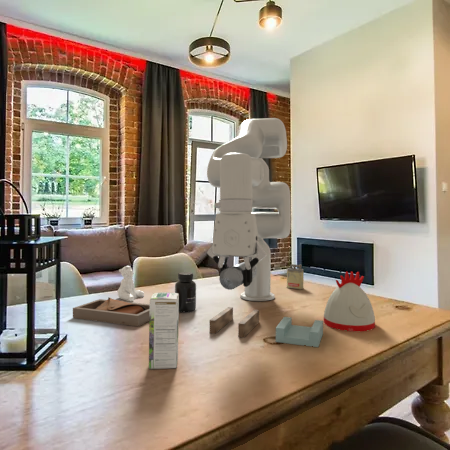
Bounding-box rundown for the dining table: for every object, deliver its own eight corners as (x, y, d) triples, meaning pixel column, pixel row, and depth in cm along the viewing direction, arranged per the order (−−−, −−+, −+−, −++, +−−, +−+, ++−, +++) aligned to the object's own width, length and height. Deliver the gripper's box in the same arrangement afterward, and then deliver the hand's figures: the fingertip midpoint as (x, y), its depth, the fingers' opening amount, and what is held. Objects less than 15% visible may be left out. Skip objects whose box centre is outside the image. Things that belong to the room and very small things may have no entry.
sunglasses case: (86, 312, 114) (96, 292, 116) (103, 319, 119) (112, 299, 121) (124, 323, 103) (134, 300, 106) (141, 330, 108) (150, 308, 111)
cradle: (284, 329, 100) (284, 316, 99) (322, 334, 96) (323, 320, 96) (275, 341, 90) (275, 327, 90) (318, 347, 87) (318, 332, 87)
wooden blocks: (228, 318, 110) (228, 307, 110) (259, 322, 106) (259, 310, 106) (209, 333, 97) (209, 320, 96) (244, 337, 93) (244, 324, 93)
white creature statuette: (131, 302, 130) (131, 268, 129) (110, 300, 132) (110, 267, 132) (145, 296, 138) (145, 264, 138) (125, 294, 141) (125, 263, 141)
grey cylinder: (239, 279, 96) (238, 261, 96) (257, 280, 94) (256, 261, 94) (219, 289, 84) (219, 268, 84) (239, 290, 82) (239, 268, 82)
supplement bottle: (192, 313, 115) (192, 275, 115) (171, 312, 117) (171, 274, 116) (198, 307, 122) (198, 271, 121) (178, 306, 123) (178, 271, 123)
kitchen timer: (385, 330, 99) (386, 275, 99) (337, 333, 97) (338, 276, 96) (358, 315, 113) (359, 267, 112) (316, 318, 111) (316, 268, 110)
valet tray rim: (99, 308, 122) (99, 299, 121) (160, 315, 113) (160, 305, 113) (72, 317, 110) (72, 308, 110) (137, 326, 102) (137, 315, 102)
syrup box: (151, 358, 80) (151, 292, 80) (179, 357, 81) (178, 291, 80) (148, 369, 74) (148, 298, 74) (178, 368, 75) (177, 298, 74)
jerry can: (285, 288, 154) (285, 264, 153) (288, 286, 157) (288, 263, 156) (302, 289, 150) (302, 265, 150) (304, 288, 153) (305, 264, 153)
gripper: (196, 207, 86) (196, 285, 87) (266, 207, 79) (266, 291, 80) (209, 207, 93) (210, 279, 94) (275, 207, 86) (275, 284, 87)
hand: (236, 283), depth 87 cm, fingers closed on grey cylinder, 4 cm apart
